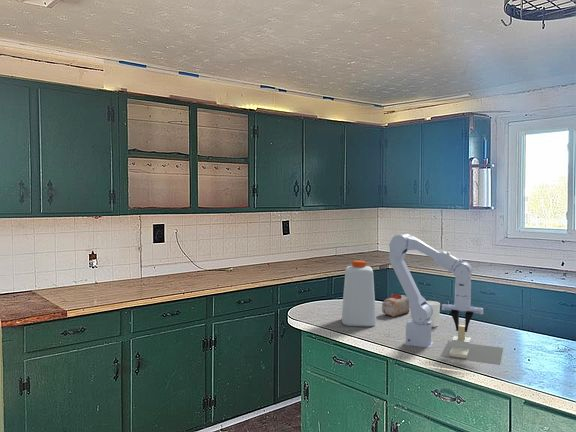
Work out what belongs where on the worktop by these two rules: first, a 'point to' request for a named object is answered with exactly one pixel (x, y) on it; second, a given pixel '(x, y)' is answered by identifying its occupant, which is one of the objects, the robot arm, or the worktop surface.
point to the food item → (395, 305)
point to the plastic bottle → (359, 296)
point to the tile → (459, 352)
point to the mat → (476, 352)
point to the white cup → (434, 312)
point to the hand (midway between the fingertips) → (461, 330)
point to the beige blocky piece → (461, 335)
